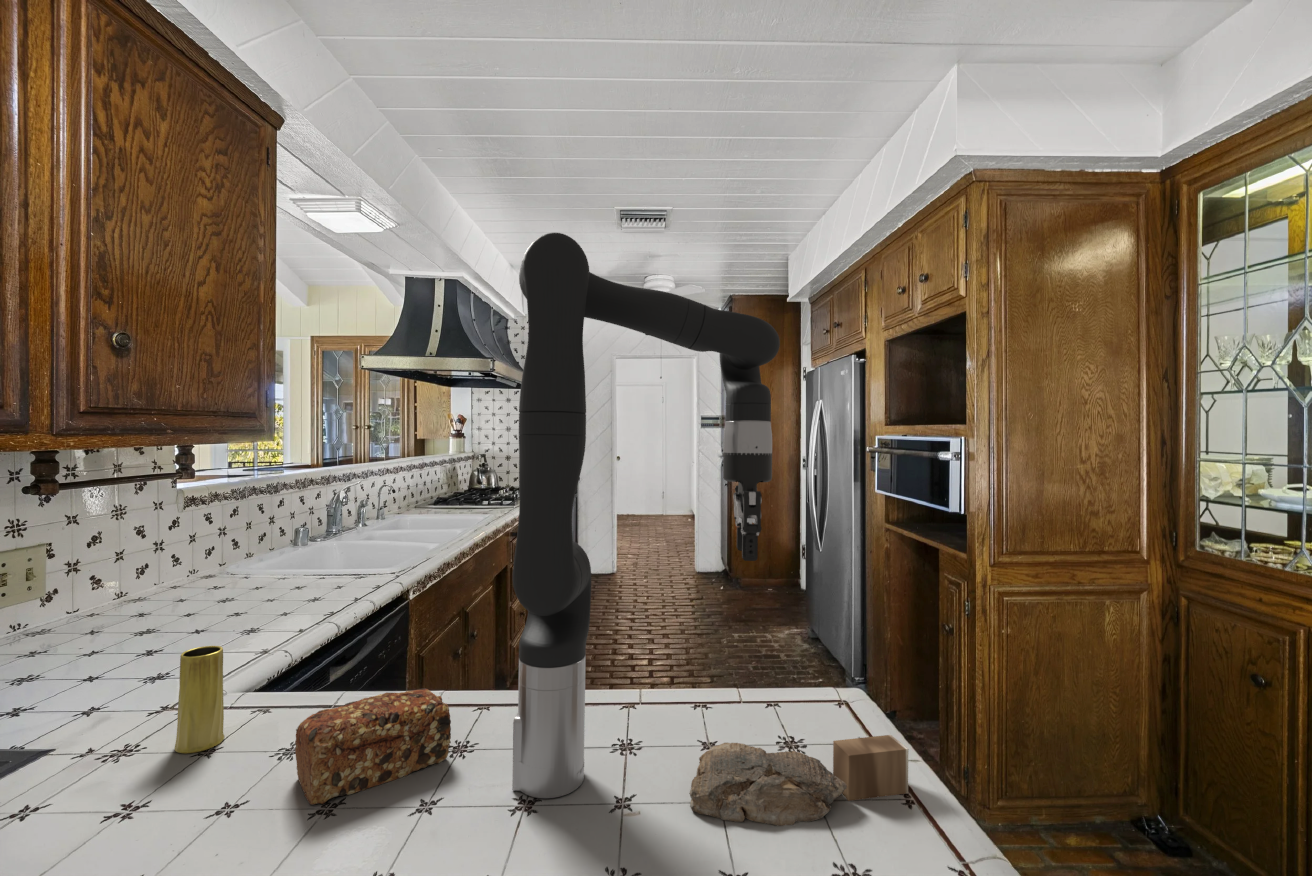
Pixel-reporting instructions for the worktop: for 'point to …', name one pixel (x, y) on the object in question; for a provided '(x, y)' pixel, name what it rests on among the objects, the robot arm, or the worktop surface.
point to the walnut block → (871, 766)
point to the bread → (370, 742)
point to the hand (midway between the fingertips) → (746, 555)
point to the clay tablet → (762, 785)
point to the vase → (200, 700)
